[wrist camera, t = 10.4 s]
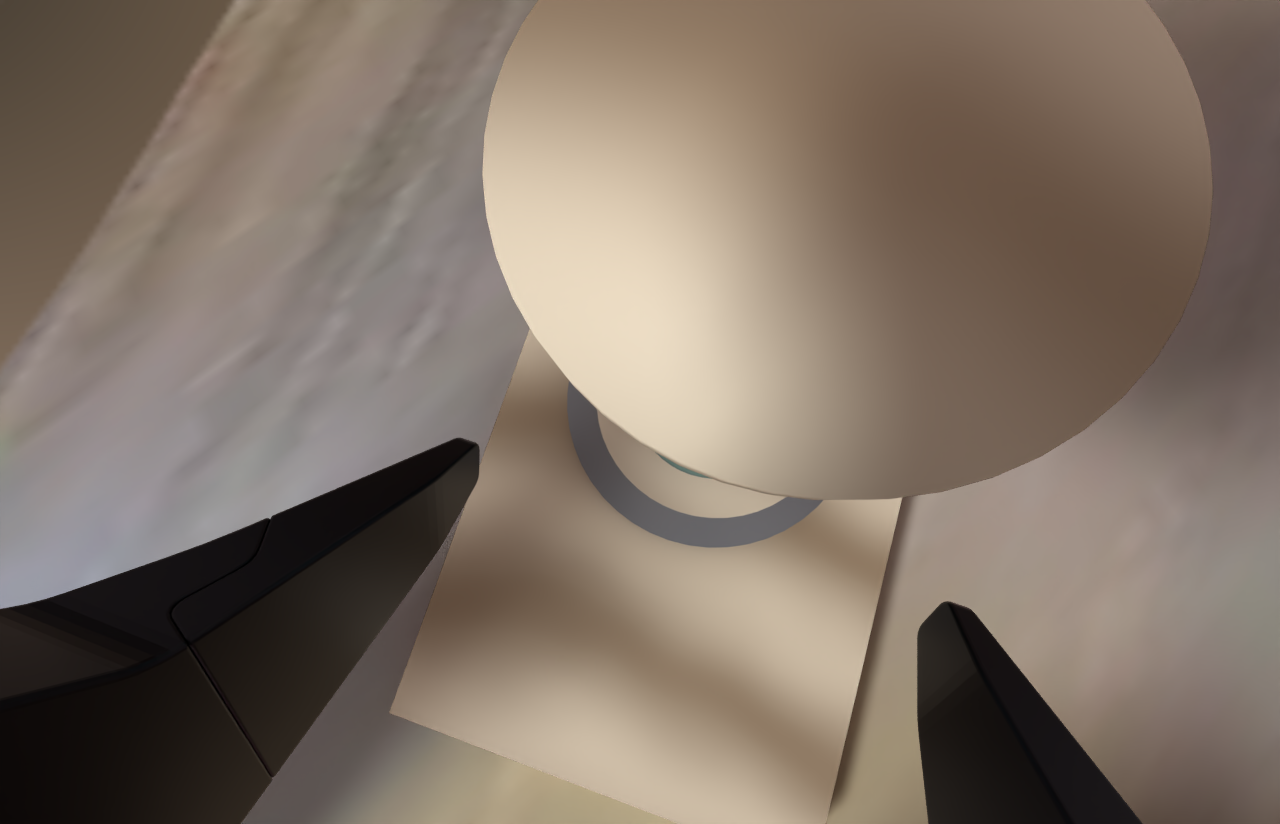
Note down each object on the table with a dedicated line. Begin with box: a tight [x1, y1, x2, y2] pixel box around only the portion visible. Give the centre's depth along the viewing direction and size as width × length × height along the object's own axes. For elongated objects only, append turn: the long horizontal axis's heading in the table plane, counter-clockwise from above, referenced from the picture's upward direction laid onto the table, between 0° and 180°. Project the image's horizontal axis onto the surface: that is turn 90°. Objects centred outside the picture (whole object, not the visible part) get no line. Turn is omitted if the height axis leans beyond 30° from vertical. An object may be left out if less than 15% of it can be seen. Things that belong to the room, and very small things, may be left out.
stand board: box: [389, 329, 902, 824], centre depth 18 cm, size 20×14×2 cm
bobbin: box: [483, 0, 1213, 518], centre depth 11 cm, size 8×8×13 cm
